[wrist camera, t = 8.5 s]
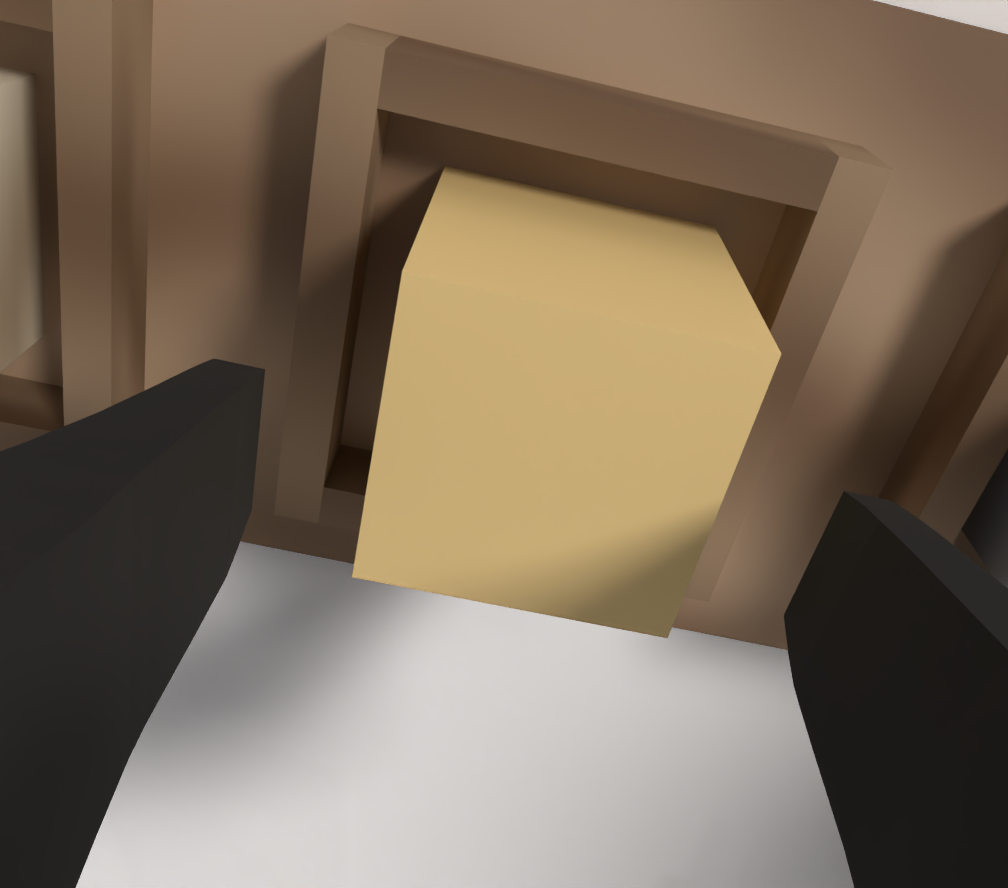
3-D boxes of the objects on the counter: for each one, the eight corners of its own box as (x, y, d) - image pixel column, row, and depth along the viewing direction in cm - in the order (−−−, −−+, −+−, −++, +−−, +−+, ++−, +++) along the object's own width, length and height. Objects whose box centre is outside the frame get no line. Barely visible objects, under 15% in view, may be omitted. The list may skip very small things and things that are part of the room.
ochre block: (637, 456, 17) (667, 637, 13) (401, 408, 17) (352, 576, 13) (714, 227, 15) (782, 354, 11) (444, 166, 15) (402, 271, 10)
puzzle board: (1187, 700, 21) (1394, 958, 16) (-311, 399, 19) (-641, 586, 14) (1611, 186, 15) (2164, 331, 10) (-506, -348, 13) (-1227, -525, 8)
